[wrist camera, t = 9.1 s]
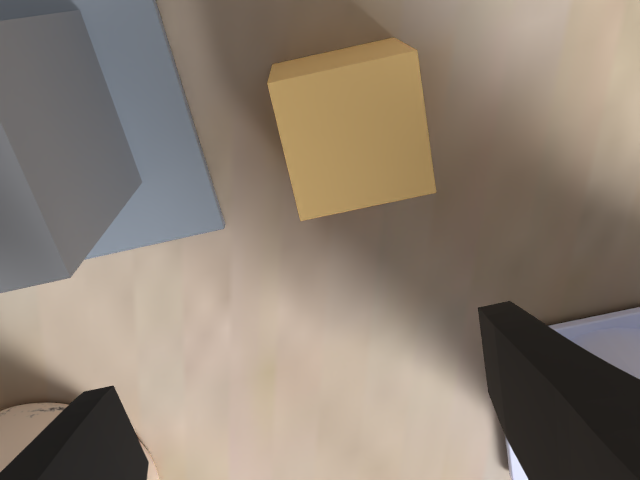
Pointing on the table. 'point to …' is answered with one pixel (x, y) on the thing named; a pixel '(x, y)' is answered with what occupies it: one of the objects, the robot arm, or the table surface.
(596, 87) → the table surface
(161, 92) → the slate mat
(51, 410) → the teacup with lid
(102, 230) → the blue-gray cube on pad
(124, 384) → the table surface
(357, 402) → the table surface
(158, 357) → the table surface
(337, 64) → the ochre cube
